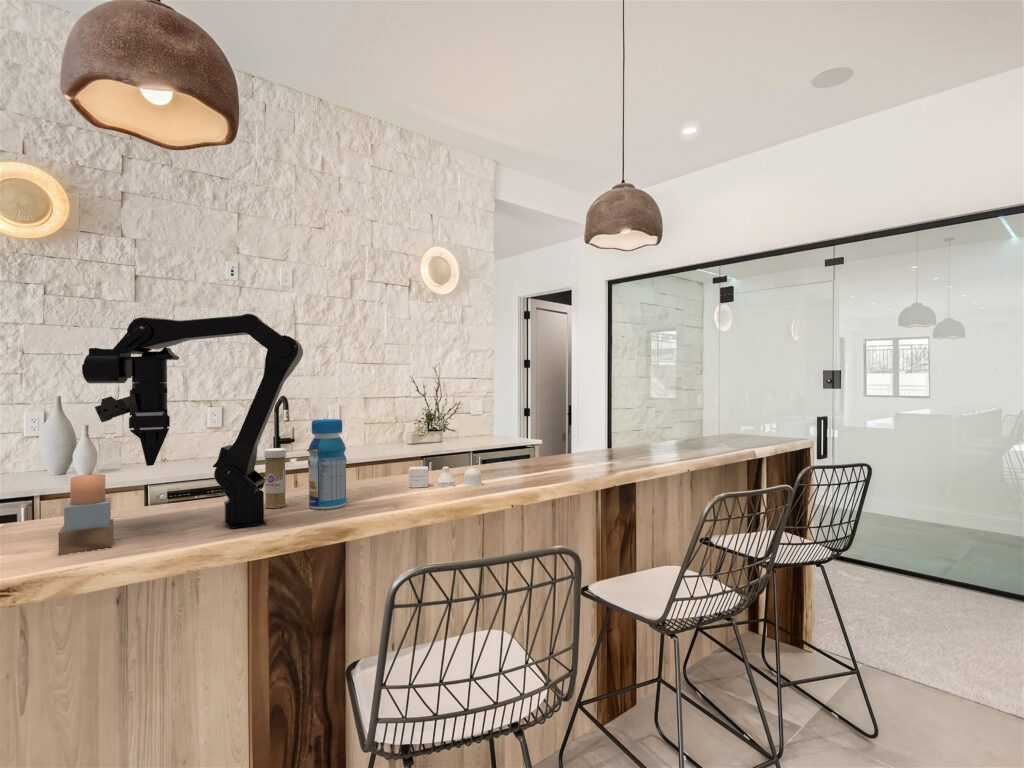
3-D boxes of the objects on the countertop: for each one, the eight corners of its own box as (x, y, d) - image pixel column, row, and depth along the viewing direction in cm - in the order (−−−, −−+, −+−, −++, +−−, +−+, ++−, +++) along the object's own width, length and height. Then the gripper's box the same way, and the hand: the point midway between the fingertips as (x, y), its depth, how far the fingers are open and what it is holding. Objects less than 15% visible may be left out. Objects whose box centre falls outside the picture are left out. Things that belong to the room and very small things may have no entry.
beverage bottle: (335, 511, 120) (334, 420, 121) (300, 509, 122) (299, 420, 122) (353, 503, 129) (352, 418, 129) (321, 502, 130) (320, 418, 131)
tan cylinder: (106, 498, 98) (106, 473, 98) (104, 503, 94) (104, 476, 94) (72, 501, 95) (72, 476, 95) (68, 506, 91) (68, 479, 91)
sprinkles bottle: (262, 509, 123) (262, 450, 123) (267, 505, 127) (267, 448, 128) (284, 508, 124) (283, 449, 124) (288, 504, 128) (287, 447, 128)
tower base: (113, 540, 99) (113, 518, 99) (111, 549, 94) (111, 526, 94) (64, 547, 95) (64, 524, 96) (58, 557, 90) (58, 532, 90)
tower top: (110, 519, 99) (110, 497, 99) (109, 526, 94) (108, 503, 94) (68, 524, 95) (68, 501, 95) (64, 531, 90) (64, 507, 90)
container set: (408, 489, 147) (408, 469, 147) (410, 486, 153) (410, 466, 153) (482, 487, 149) (482, 467, 149) (482, 483, 154) (481, 464, 154)
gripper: (102, 384, 109) (102, 461, 109) (93, 382, 94) (93, 472, 94) (167, 383, 116) (168, 457, 115) (169, 382, 100) (170, 466, 100)
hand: (150, 463), depth 106 cm, fingers open, 9 cm apart
